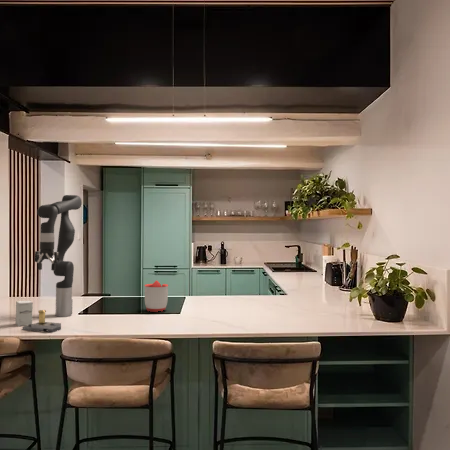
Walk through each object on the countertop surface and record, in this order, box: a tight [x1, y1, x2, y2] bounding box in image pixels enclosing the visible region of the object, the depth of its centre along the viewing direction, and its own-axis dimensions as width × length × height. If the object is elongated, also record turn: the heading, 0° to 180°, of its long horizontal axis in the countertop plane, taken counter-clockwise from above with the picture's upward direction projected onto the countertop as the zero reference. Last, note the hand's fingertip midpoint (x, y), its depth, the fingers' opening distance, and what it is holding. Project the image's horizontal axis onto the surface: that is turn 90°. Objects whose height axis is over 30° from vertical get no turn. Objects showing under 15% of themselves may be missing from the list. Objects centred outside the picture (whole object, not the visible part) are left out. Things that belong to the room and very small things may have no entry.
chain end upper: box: [31, 321, 62, 333], centre depth 221 cm, size 7×13×4 cm, turn 76°
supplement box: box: [15, 300, 34, 327], centre depth 232 cm, size 7×7×13 cm
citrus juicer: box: [144, 280, 169, 313], centre depth 277 cm, size 16×17×20 cm
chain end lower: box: [21, 324, 47, 332], centre depth 222 cm, size 7×13×2 cm, turn 76°
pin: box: [38, 309, 47, 325], centre depth 221 cm, size 4×4×10 cm
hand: (46, 270), depth 235 cm, fingers open, 8 cm apart
